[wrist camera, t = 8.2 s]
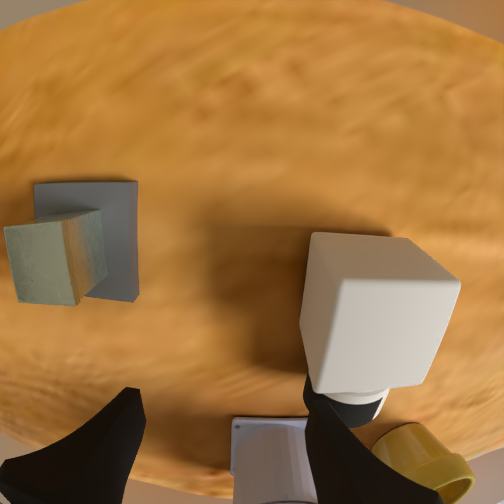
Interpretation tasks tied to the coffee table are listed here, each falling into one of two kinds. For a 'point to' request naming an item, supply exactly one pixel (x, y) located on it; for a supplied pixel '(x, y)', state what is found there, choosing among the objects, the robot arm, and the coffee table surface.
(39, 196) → the block
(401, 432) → the plant pot
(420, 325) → the medicine bottle
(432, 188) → the coffee table surface
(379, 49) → the coffee table surface
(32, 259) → the grey green cube
